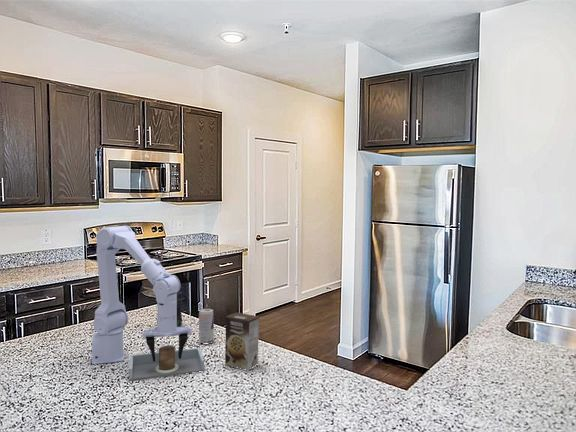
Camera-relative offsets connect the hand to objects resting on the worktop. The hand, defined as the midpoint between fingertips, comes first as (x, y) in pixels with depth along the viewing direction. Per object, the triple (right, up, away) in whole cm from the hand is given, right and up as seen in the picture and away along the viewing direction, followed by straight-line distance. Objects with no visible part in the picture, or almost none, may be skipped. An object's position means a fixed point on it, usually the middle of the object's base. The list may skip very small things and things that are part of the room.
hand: (167, 358), depth 129 cm
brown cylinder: (0, -3, 0) cm, 3 cm away
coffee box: (+23, -4, +5) cm, 24 cm away
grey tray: (0, -4, +1) cm, 4 cm away
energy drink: (+7, -3, +25) cm, 26 cm away
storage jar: (-11, -2, +40) cm, 41 cm away
